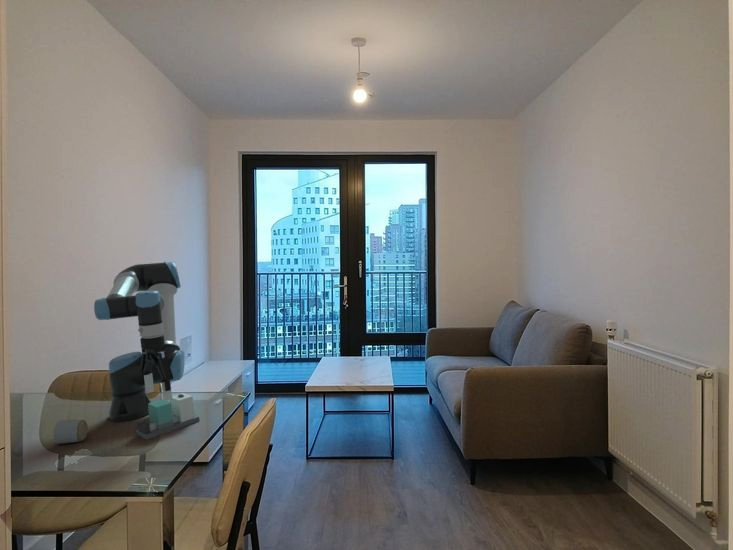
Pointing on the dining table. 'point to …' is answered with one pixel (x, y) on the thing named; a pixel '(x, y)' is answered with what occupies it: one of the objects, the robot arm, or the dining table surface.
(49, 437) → the dining table surface
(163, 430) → the board
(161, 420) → the block
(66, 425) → the ceramic mug
